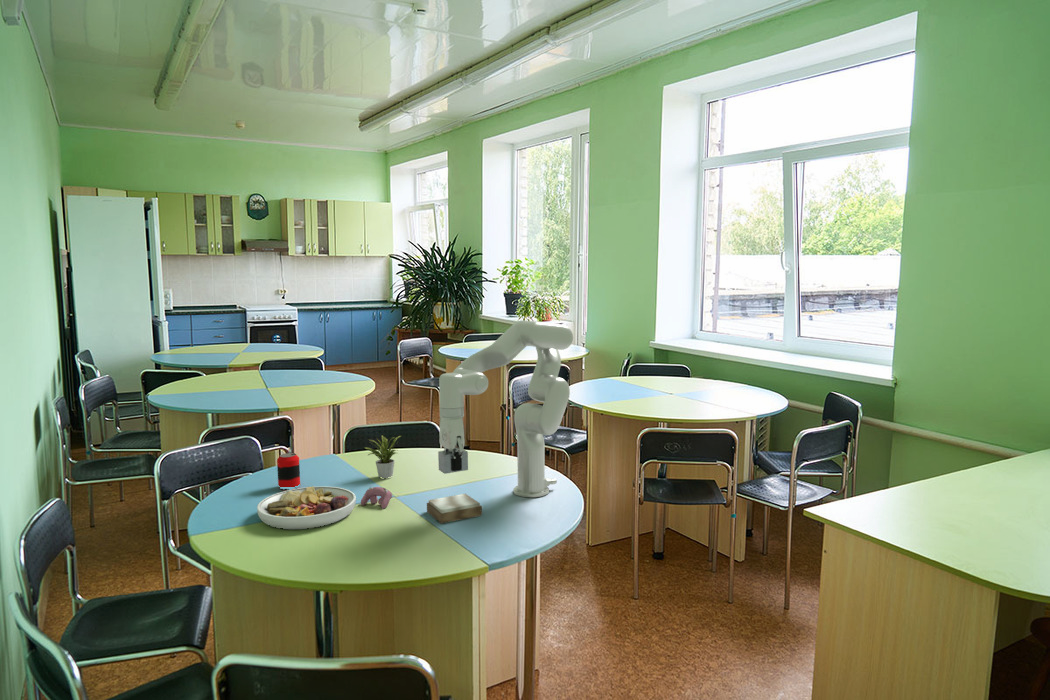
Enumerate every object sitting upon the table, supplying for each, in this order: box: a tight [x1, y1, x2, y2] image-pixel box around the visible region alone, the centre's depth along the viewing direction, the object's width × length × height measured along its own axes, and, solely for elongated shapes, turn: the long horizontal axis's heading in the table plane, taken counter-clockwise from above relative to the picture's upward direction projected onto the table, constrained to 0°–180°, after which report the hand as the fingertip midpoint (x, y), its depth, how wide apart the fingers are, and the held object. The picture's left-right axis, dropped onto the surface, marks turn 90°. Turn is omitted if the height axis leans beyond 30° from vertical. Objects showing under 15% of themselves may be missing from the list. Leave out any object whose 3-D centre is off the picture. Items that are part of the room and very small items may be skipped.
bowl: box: [256, 485, 357, 530], centre depth 213 cm, size 30×30×8 cm
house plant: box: [364, 435, 401, 478], centre depth 254 cm, size 14×14×16 cm
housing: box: [437, 447, 469, 475], centre depth 212 cm, size 5×8×7 cm, turn 119°
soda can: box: [276, 452, 301, 487], centre depth 242 cm, size 8×8×12 cm
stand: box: [426, 493, 483, 524], centre depth 213 cm, size 14×12×4 cm
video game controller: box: [360, 486, 393, 510], centre depth 223 cm, size 10×5×7 cm, turn 66°
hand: (453, 467), depth 212 cm, fingers closed on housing, 5 cm apart
